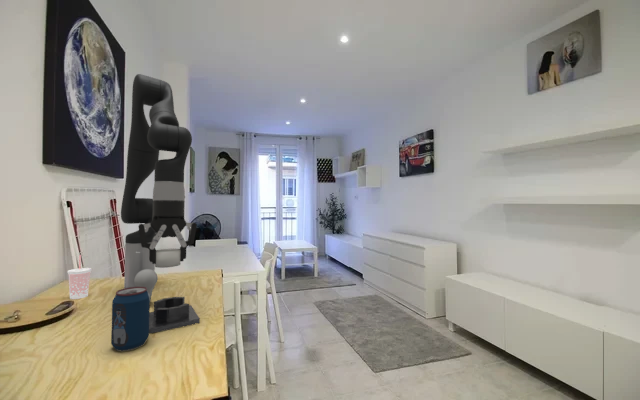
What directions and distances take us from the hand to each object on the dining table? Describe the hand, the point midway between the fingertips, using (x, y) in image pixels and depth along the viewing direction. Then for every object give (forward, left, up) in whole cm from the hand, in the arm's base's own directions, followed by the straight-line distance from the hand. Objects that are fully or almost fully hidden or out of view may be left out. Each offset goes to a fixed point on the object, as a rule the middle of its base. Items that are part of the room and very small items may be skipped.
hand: (167, 261), depth 76 cm
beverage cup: (-38, -22, -16) cm, 47 cm away
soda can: (+10, -8, -16) cm, 20 cm away
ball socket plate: (0, +1, -16) cm, 16 cm away
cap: (0, 0, -1) cm, 1 cm away
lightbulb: (-17, -4, -16) cm, 24 cm away
